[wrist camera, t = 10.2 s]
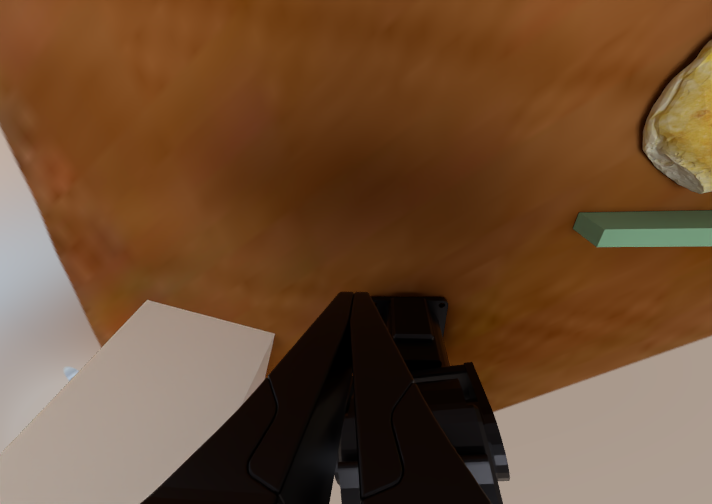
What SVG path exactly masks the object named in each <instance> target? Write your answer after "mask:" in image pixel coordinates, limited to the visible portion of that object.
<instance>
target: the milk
mask: <svg viewBox="0 0 712 504" xmlns="http://www.w3.org/2000/svg"><path fill="white" fill-rule="evenodd" d="M274 336H275V334H274V333H270V332H266V331H262V330H259V329H255V328H251V327H247V326H244V325H240V324H236V323H232V322H229V321H225V320H221V319H217V318H213V317H210V316H206V315H202V314H198V313H195V312H191V311H187V310H183V309H180V308H176V307H172V306H168V305H165V304H161V303H157V302H153V301H149V300H147V301H146V302H145V303H144V304H143V305H142V306H141V307H140V308H139V309H138V310H137V311H136V312H135V313H134V314H133V315H132V316H131V317H130V318H129V319H128V321H127V322H126V323H125V324H124V325H123V326H122V327H121V328H120V329H119V330H118V331H117V332H116V333H115V334H114V335H113V336H112V337H111V338H110V339H109V340H108V342H107V343H106V344H105V345H104V346H103V347H102V348H101V349H100V350H99V351H98V352H97V353H96V354H95V355H94V356H93V357H92V358H91V359H90V361H89V362H88V363H87V364H86V365H85V366H84V367H83V368H82V369H81V370H80V371H79V372H78V373H77V374H76V375H75V376H74V377H73V378H72V379H71V380H70V381H69V383H68V384H67V385H66V386H65V387H64V388H63V389H62V390H61V391H60V392H59V393H58V394H57V395H56V396H55V397H54V398H53V399H52V400H51V402H50V403H49V404H48V405H47V406H46V407H45V408H44V409H43V410H42V411H41V412H40V413H39V414H38V415H37V416H36V417H35V418H34V419H33V420H32V421H31V423H30V424H29V425H28V426H27V427H26V428H25V429H24V430H23V431H22V432H21V433H20V434H19V435H18V436H17V437H16V438H15V439H14V440H13V441H12V442H11V444H10V445H9V446H8V447H7V448H6V449H5V450H4V451H3V452H2V453H1V454H0V504H140V503H141V502H142V501H144V500H145V499H146V498H147V497H148V496H149V495H151V494H152V493H153V492H154V491H155V490H156V489H157V488H158V487H159V486H160V485H161V484H162V483H163V482H164V481H165V480H166V479H168V478H169V477H170V476H171V475H172V474H173V473H174V472H175V471H176V470H177V469H178V468H179V467H180V466H181V465H182V464H183V463H184V462H185V461H186V460H187V459H188V458H189V457H190V456H191V455H192V454H193V453H194V452H195V451H196V450H197V449H198V448H199V447H201V446H202V445H203V444H204V443H205V442H206V441H207V440H208V439H209V438H210V437H211V436H212V435H213V434H214V433H215V432H216V431H217V430H218V429H219V428H220V427H221V426H222V425H223V424H224V423H225V422H226V421H227V420H228V419H229V418H230V417H231V416H232V415H233V414H234V413H235V412H236V411H237V410H238V409H239V408H240V407H241V405H242V404H243V403H244V402H245V401H246V400H247V399H248V398H249V397H250V395H251V394H252V393H253V392H254V391H255V390H256V389H257V388H258V386H259V385H260V384H261V383H262V382H263V381H264V379H265V375H266V371H267V366H268V362H269V358H270V353H271V349H272V345H273V340H274Z"/></svg>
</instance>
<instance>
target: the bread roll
mask: <svg viewBox="0 0 712 504" xmlns="http://www.w3.org/2000/svg"><path fill="white" fill-rule="evenodd" d="M643 151H644V152H645V154H646V155H647V157H648V158H649V159H650V160H651V161H652V163H653V164H654V166H655V167H656V168H657V169H659V170H660V171H661V172H662V173H663V174H665V175H666V176H668V177H669V178H670V179H672V180H674V181H675V182H676V183H677V184H678V185H681V186H683V187H685V188H687V189H689V190H690V191H693V192H697V193H700V194H701V193H705V192H711V191H712V39H711V40H710V41H709V42H708V43H707V44H706V45H705V46H704V47H703V49H702V50H701V51H700V53H699V54H698V56H697V58H696V59H695V60H694V61H693V62H692V63H691V64H689V65H688V66H687V67H686V68H685V69H683V70H682V71H681V72H680V73H679V74H677V75H676V76H675V77H674V78H673V79H672V80H671V81H670V83H669V84H668V85H667V86H666V88H665V89H664V90H663V92H662V94H661V95H660V97H659V98H658V100H657V101H656V103H655V104H654V105H653V107H652V109H651V111H650V113H649V115H648V118H647V120H646V123H645V127H644V130H643Z"/></svg>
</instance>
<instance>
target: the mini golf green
mask: <svg viewBox="0 0 712 504" xmlns="http://www.w3.org/2000/svg"><path fill="white" fill-rule="evenodd" d="M573 229H574V230H575V231H576V232H578V233H579V234H580V235H582V236H583V237H584V238H586V239H587V240H588V241H590V242H591V243H592V244H594V245H595V246H596V247H671V246H712V210H704V211H645V212H585V213H579V214H578V217H577V219H576V222H575V224H574V227H573Z"/></svg>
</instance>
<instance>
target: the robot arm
mask: <svg viewBox="0 0 712 504" xmlns="http://www.w3.org/2000/svg"><path fill="white" fill-rule="evenodd" d="M374 302H375V303H376V304H374ZM440 303H443V304H440ZM447 309H448V303H447V300H446V299H445V298H442V297H371V296H370V295H369V293H368V292H355V293H353V292H340V293H339V294H338V295H337V296H336V297H335V298H334V300H333V301H332V302H331V303H330V304H329V305H328V307H327V308H326V309H325V310H324V311H323V312H322V313H321V315H320V316H319V317H318V318H317V319H316V320H315V322H314V323H313V324H312V325H311V326H310V327H309V329H308V330H307V331H306V332H305V333H304V334H303V336H302V337H301V338H300V339H299V340H298V341H297V343H296V344H295V345H294V346H293V347H292V348H291V349H290V351H289V352H288V353H287V354H286V355H285V356H284V358H283V359H282V360H281V361H280V362H279V363H278V365H277V366H276V367H275V368H274V369H273V370H272V372H271V373H270V374H269V375H268V378H265V379H264V381H263V382H262V383H261V384H260V385H259V386H258V388H257V389H256V390H255V391H254V392H253V393H252V394H251V395H250V397H249V398H248V399H247V400H246V401H245V402H244V403H243V404H242V405H241V407H240V408H239V409H238V410H237V411H236V412H235V413H234V414H233V415H232V416H231V417H230V418H229V419H228V420H227V421H226V422H225V423H224V424H223V425H222V426H221V427H220V428H219V429H218V430H217V431H216V432H215V433H214V434H213V435H212V436H211V437H210V438H209V439H208V440H207V441H206V442H205V443H204V444H203V445H202V446H201V447H199V448H198V449H197V450H196V451H195V452H194V453H193V454H192V455H191V456H190V457H189V458H188V459H187V460H186V461H185V462H184V463H183V464H182V465H181V466H180V467H179V468H178V469H177V470H176V471H175V472H174V473H173V474H172V475H171V476H170V477H169V478H168V479H166V480H165V481H164V482H163V483H162V484H161V485H160V486H159V487H158V488H157V489H156V490H155V491H154V492H153V493H152V494H151V495H149V496H148V497H147V498H146V499H145V500H144V501H142V502H141V503H140V504H329V502H330V496H331V490H332V484H333V479H334V475H335V478H336V481H337V483H338V484H339V485H340V487H341V500H342V504H503V502H502V498H501V494H500V490H499V485H498V481H509V479H510V476H509V469H508V464H507V459H506V454H505V450H504V446H503V443H502V439H501V436H500V432H499V429H498V426H497V423H496V420H495V417H494V414H493V411H492V409H491V406H490V404H489V401H488V399H487V397H486V394H485V392H484V389H483V387H482V385H481V382H480V380H479V377H478V375H477V373H476V370H475V368H474V365H473V363H472V362H469V363H464V365H455V366H450V365H449V361H448V357H447V353H446V349H445V345H444V341H443V334H444V328H445V321H446V315H447ZM352 375H353V376H352Z"/></svg>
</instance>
